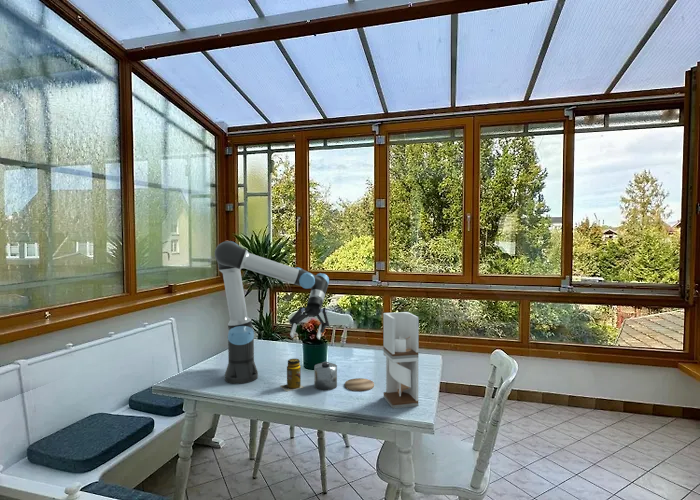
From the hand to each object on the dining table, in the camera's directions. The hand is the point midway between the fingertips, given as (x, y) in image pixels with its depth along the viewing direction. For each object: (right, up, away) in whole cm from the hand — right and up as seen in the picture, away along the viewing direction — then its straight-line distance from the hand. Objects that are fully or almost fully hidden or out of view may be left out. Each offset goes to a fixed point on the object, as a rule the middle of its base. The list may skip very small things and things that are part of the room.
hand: (304, 337), depth 191 cm
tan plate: (+26, -19, -11) cm, 34 cm away
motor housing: (+11, -19, -12) cm, 25 cm away
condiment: (-4, -20, -12) cm, 24 cm away
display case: (+42, -20, -28) cm, 54 cm away
